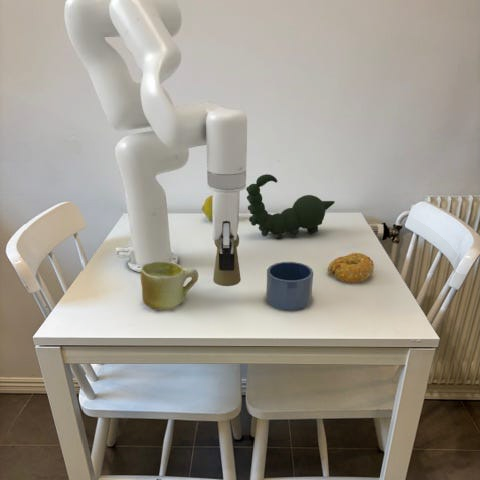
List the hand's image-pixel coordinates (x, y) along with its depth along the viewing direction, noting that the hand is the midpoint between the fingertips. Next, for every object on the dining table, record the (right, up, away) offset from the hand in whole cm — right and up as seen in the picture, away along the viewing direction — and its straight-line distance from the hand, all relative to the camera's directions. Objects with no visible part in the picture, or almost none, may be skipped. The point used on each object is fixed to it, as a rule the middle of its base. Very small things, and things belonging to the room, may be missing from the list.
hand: (226, 263), depth 103 cm
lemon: (-4, +19, +49) cm, 52 cm away
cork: (0, -3, +2) cm, 4 cm away
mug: (-12, -8, +4) cm, 15 cm away
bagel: (+30, -1, +14) cm, 33 cm away
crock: (+14, -8, +4) cm, 16 cm away
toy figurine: (+17, +13, +37) cm, 43 cm away
